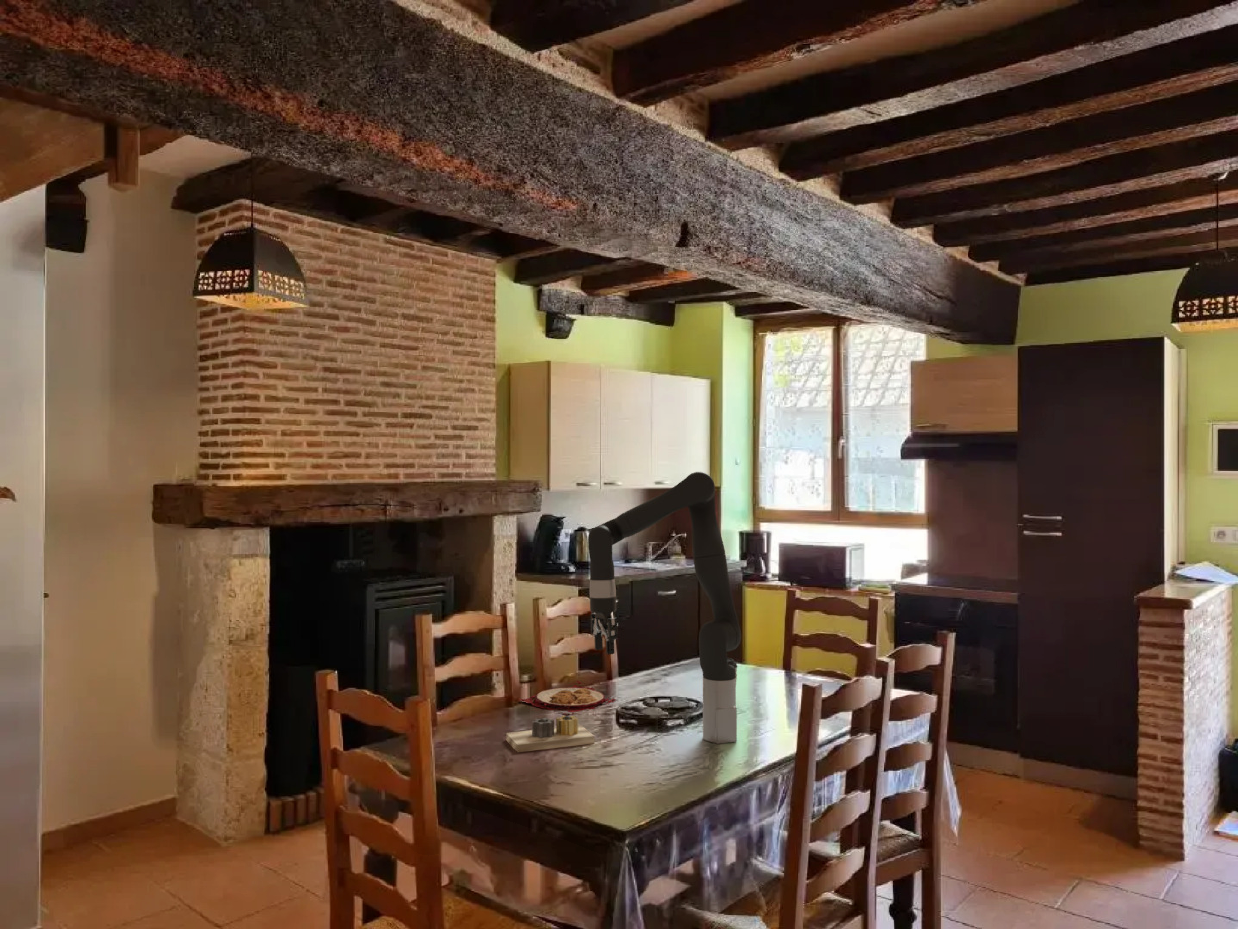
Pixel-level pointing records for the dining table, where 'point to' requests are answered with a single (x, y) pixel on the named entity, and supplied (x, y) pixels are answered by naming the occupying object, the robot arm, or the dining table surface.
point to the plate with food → (568, 698)
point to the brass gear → (567, 725)
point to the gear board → (547, 737)
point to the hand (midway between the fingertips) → (604, 651)
